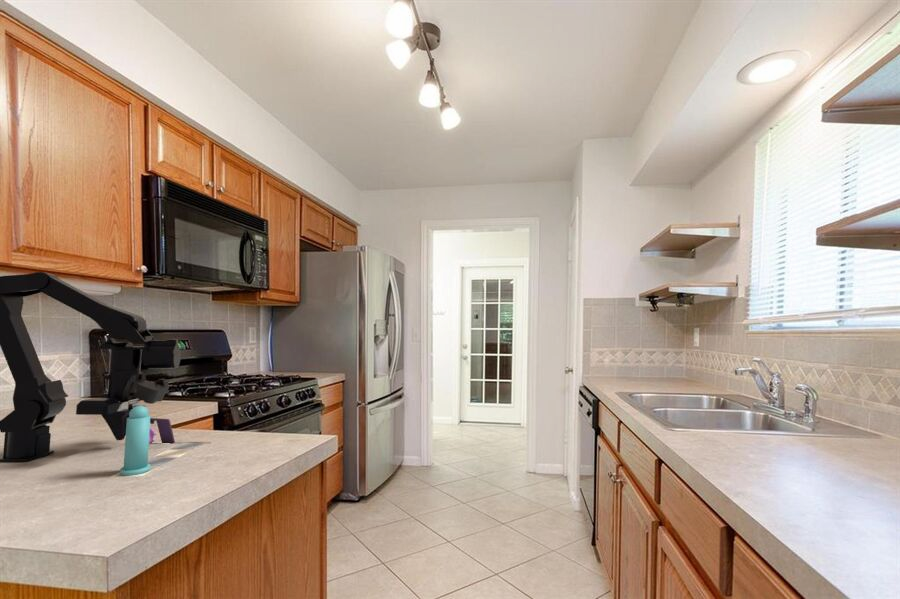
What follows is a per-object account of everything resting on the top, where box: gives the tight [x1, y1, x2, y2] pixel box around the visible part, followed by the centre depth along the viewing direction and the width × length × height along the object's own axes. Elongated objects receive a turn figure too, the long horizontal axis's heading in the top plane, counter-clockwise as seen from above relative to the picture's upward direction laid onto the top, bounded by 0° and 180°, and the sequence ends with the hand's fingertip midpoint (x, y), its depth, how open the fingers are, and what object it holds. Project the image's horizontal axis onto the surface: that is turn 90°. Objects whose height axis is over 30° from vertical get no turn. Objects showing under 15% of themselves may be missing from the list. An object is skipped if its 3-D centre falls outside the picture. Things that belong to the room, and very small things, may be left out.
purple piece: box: [149, 417, 176, 445], centre depth 99 cm, size 7×5×9 cm
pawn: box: [119, 405, 152, 476], centre depth 80 cm, size 5×5×12 cm
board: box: [110, 441, 212, 478], centre depth 88 cm, size 8×26×1 cm, turn 3°
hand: (120, 439), depth 95 cm, fingers closed
